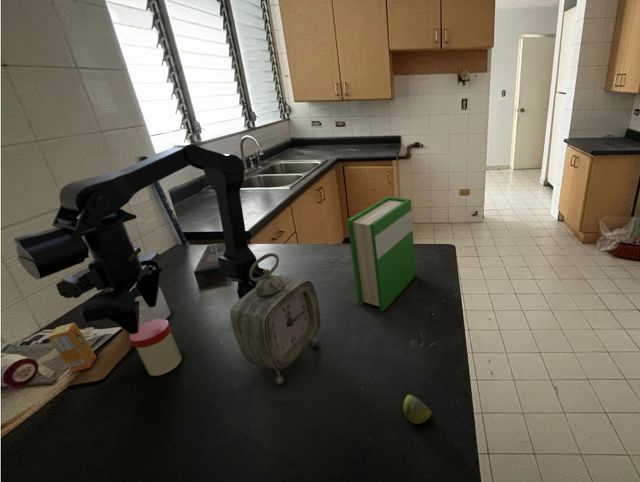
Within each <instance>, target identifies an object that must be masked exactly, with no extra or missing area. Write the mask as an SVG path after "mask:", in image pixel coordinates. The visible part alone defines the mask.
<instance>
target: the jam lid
mask: <svg viewBox="0 0 640 482" xmlns="http://www.w3.org/2000/svg"><path fill="white" fill-rule="evenodd" d="M170 332H171V333H172V327H171V324H170V322H169V321H168V319H166V320H165V319H157V320H152V321H149V322H147V323H144V324H142V325H141V326H139V332H138V333H136V334H130V333H129V341H130V344H131V346H133V347H134V348H136V347H137V348H142V347H148V346H151V345H153V344H156V343H158V342H160V341H161V340H163V339H164V338H166V337H167V336H168V335H169V333H170Z"/></svg>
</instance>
